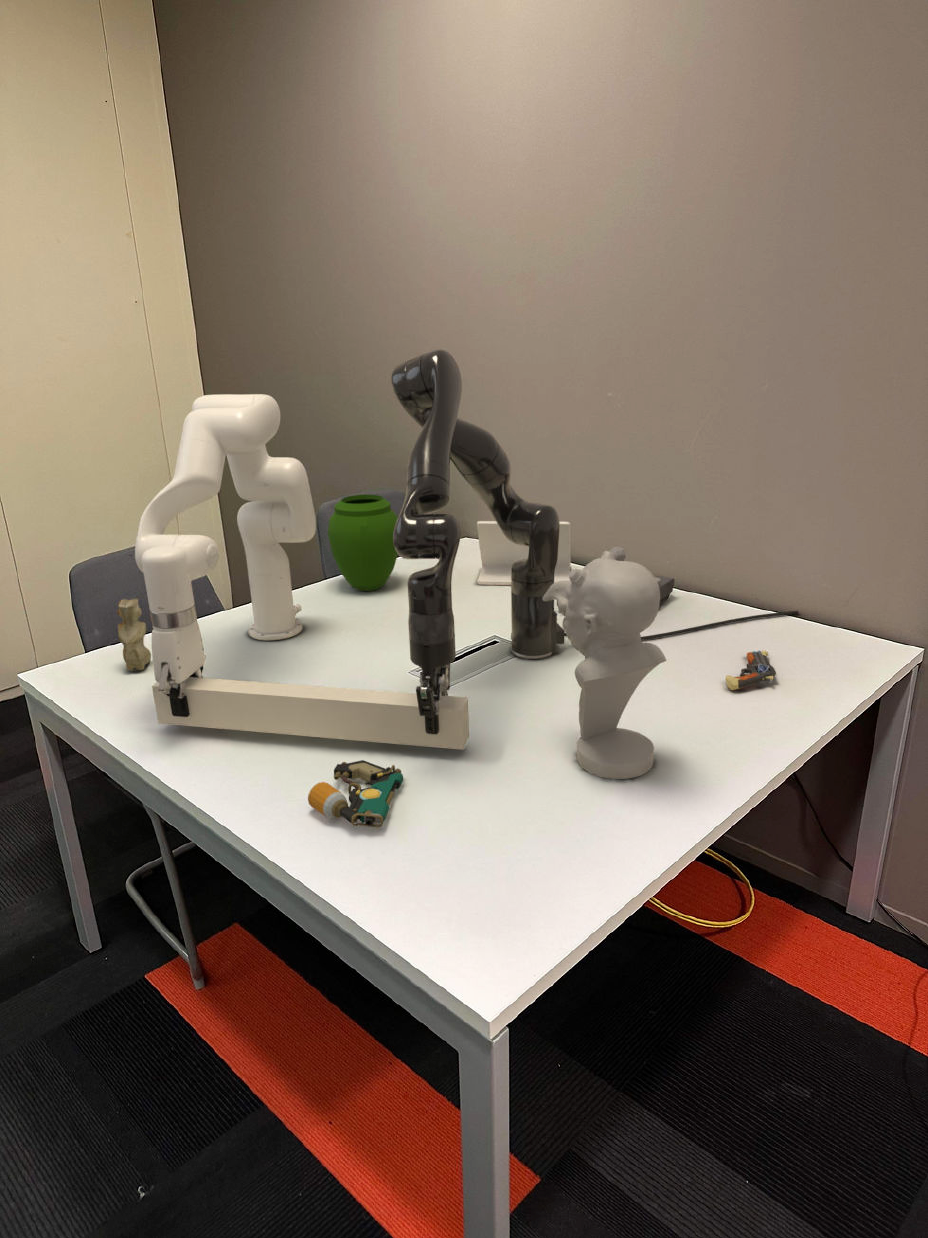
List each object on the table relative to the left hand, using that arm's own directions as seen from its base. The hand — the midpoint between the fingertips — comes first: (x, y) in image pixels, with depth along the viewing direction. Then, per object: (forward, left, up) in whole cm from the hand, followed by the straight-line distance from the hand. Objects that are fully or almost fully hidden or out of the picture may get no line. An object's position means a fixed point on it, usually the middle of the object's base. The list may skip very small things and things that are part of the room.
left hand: (188, 708), depth 156 cm
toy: (-86, +65, -4) cm, 108 cm away
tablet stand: (-104, +36, -4) cm, 110 cm away
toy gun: (-51, +97, -4) cm, 110 cm away
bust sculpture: (-11, +73, -4) cm, 74 cm away
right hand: (-5, +47, +1) cm, 47 cm away
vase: (-84, -3, -4) cm, 84 cm away
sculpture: (-21, -29, -4) cm, 36 cm away
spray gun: (+13, +41, -4) cm, 43 cm away
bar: (-2, +23, -2) cm, 24 cm away
